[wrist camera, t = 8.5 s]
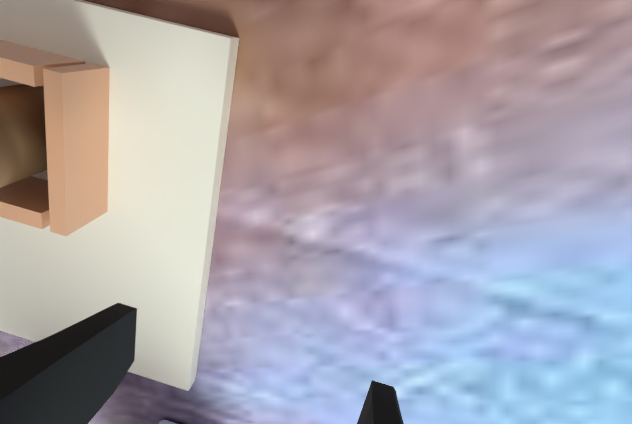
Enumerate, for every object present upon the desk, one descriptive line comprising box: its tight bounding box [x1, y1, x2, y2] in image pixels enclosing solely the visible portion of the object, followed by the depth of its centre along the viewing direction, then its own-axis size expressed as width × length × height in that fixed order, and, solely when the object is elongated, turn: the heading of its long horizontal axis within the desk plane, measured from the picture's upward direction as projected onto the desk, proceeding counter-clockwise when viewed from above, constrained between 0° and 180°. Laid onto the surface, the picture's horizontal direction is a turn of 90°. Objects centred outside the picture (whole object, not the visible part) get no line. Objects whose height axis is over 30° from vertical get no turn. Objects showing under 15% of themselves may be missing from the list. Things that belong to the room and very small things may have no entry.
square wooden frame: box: [0, 40, 110, 236], centre depth 20 cm, size 7×7×3 cm
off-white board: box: [0, 0, 239, 391], centre depth 23 cm, size 20×14×1 cm
